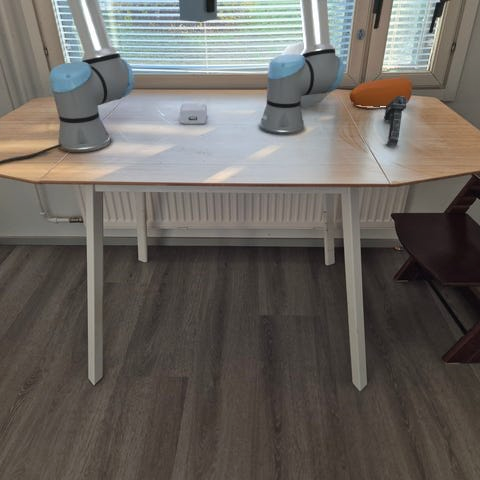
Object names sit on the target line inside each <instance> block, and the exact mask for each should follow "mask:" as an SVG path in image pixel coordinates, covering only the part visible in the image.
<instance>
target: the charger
mask: <svg viewBox="0 0 480 480" xmlns="http://www.w3.org/2000/svg"><path fill="white" fill-rule="evenodd" d="M207 114H208V111H207V104H206V103H204V102H202V103H201V102H190V103H189V102H184V103H182V104H181V106H180V110H179V123H181V124H184V125H186V124H187V125H194V124H195V125H199V124H200V125H202V124H205V123H206V122H207V116H208V115H207Z"/></svg>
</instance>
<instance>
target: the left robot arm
mask: <svg viewBox="0 0 480 480" xmlns="http://www.w3.org/2000/svg"><path fill="white" fill-rule="evenodd" d="M66 2H67V5H68V8H69V11H70V14H71V17H72V20H73V23H74V26H75V29H76V32H77V35H78V37H79V40H80V43H81V46H82V50H83V52H84V54H83V56H82V57H81V61H71V62H65V63H62V64H58V65H56V66H55V67H53V68H51V70H50V72H49V82H50V88H51V91H52V93H53V94H52V95H53V98H54V102H55V107H56V111H57V114H58V118H59V132H58V133H59V134H58V144H55V145H53V146H50V147H48V148H45V149H43V150H40V151H37V152H33V153H30V154H25V155H21V156H15V157H9V158H5V159H2V160H0V165H1V164H5V163H9V162H14V161H18V160H19V161H20V160H24V159H28V158H33V157H37V156H40V155H42V154H45V153H47V152H50V151H53V150H56V149H58V148H60V149H61V150H62V151H64V152H68V153H74V154H76V153H77V154H81V153H82V154H83V153H90V152H96V151H99V150H102V149H104V148H106V147H107V146H108V145H109V144H110V143H111V140H110V139H111V138H110V135H109V133H108V130H107V129H106V127H105V125H104V123H103V121H102V120H101V116H100V112H99V107H98V106H101V105H105V104H107V103H111V102H113V101H117V100H121V99H123V98H124V97H126V96H128V95H130V94H131V92H132V90H133V88H134V84H135V74H134V71H133V68H132V67H131V65H130V64H129V63H128V61H127V60H126V59H124V58H122V57H121V54H120V51H118V50H117V49H116V48H114V47H113V45H112V41H111V38H110V35H109V32H108V28H107V26H106V23H105V18H104V15H103V12H102V9H101V7H100V2H99V0H66ZM206 7H207V13H210V12H215V4H214V0H206Z"/></svg>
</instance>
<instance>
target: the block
mask: <svg viewBox="0 0 480 480" xmlns="http://www.w3.org/2000/svg"><path fill="white" fill-rule="evenodd" d="M214 4H215V12H210V13H207V7H206V0H178V5H179V6H178V11H179V21H184V22H196V23H204V22H210V21H213V20H214V21H215V20H217V19H218V0H214Z"/></svg>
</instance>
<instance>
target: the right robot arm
mask: <svg viewBox="0 0 480 480" xmlns="http://www.w3.org/2000/svg"><path fill="white" fill-rule="evenodd" d="M450 1H451V0H439V1H436V3H435V6H434V10H433V14H432V17H431V21H430V25H429V30H428V34H433V32H434V28H435V25H436V22H437V18H439V19H440V18H441V17H442V16H443V12H444V9H445V5H446V3H447V2H450ZM299 3H300V14H301V25H302V36H303V37H302V38H303V41H304V50H303V52H302V53H301V55H299V54H291V55H289V54H286V55H281V54H280V55H281V56H280V55H277V56H275V57H273V58H271V60H270V61H269V63H268V70H267V88H266V89H267V91H266V106H265V109H264V111H263V113H262V117H261V119H260V123H259V124H260V125H259V126H260V127H259V128H260V129H261V130H262V131H263V132H266V133H268V134H273V135H278V136H290V135H297V134H299V133H301V132H303V131H304V127H305V122H304V119H303V112H302V107H300V105H301V96H304V95H313V94H320V93H321V94H324V93H327V92H330V93H331V92H334V91H335V90H337V89H338V88H339V86H340V84H341V83H342V81H343V78H344V73H345V64H344V62H343V60H342V58H341V57H340V56H339V55H336V48H335V47H334V46H333V45H332V44H331V38H330V25H329V23H330V21H329V13H328V12H329V9H328V0H299ZM383 5H384V0H374V1H373V7H372V14H374V15H375V19H374V25H373V30H378V29H379V27H380V21H381V16H382V11H383Z"/></svg>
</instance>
